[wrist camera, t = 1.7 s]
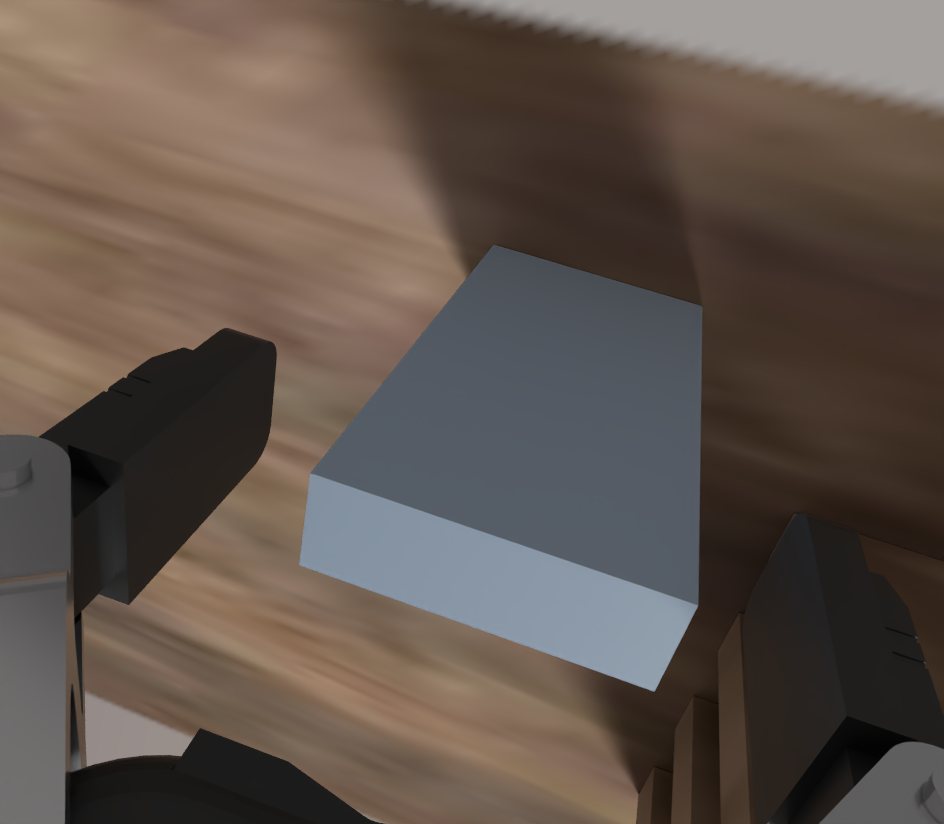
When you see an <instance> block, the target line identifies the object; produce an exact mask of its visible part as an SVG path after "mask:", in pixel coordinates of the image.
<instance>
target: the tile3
mask: <svg viewBox="0 0 944 824" xmlns="http://www.w3.org/2000/svg"><path fill="white" fill-rule="evenodd" d="M744 615H745V614H742V613H739V614H738V616H737V617H736V619H735V621H734V623H733V625H732V627H731V628H730V630H729V632H728V634H727V636H726V637H725V639H724V641H723V643H722V645H721V647H720V648H719V650H718V687H719V745H720V803H721V824H756V819H755V804H754V789H753V774H752V759H751V745H750V730H749V715H748V700H747V685H746V671H745V656H744V641H743V621H744Z"/></svg>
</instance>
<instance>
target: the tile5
mask: <svg viewBox="0 0 944 824" xmlns="http://www.w3.org/2000/svg"><path fill="white" fill-rule="evenodd" d="M672 791H673V773H670V772H667V771H665V770H662V769H659V768H656V767H654V768H653V770H652V771H651V773H650V775H649V777H648V779H647V781H646V782H645V784H644V786H643V788H642V790H641V791H640V793H639V796H638V808H637V820H636V824H671V814H672Z"/></svg>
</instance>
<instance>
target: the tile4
mask: <svg viewBox="0 0 944 824" xmlns="http://www.w3.org/2000/svg"><path fill="white" fill-rule="evenodd" d="M671 824H721V803H720V745H719V705H718V704H715V703H712V702H710V701H707V700H704V699H701V698H698V697H696V696H693V697H692V699H691V701H690V703H689V704H688V706H687V708H686V710H685V712H684V713H683V715H682V717H681V719H680V721H679V723H678V724H677V726H676V728H675V744H674V767H673V791H672V814H671Z"/></svg>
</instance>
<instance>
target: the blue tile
mask: <svg viewBox="0 0 944 824" xmlns="http://www.w3.org/2000/svg"><path fill="white" fill-rule="evenodd" d="M701 377H702V306H700V305H697V304H693V303H690V302H686V301H683V300H680V299H676V298H673V297H670V296H666V295H663V294H659V293H656V292H653V291H649V290H646V289H642V288H639V287H636V286H632V285H629V284H626V283H622V282H619V281H615V280H612V279H609V278H605V277H602V276H599V275H595V274H592V273H588V272H585V271H582V270H578V269H575V268H571V267H568V266H565V265H561V264H558V263H555V262H551V261H548V260H544V259H541V258H538V257H534V256H531V255H528V254H524V253H521V252H517V251H514V250H511V249H507V248H504V247H500V246H497V245H493V246H492V247H491V249H490V250H489V251H488V252H487V254H486V255H485V256H484V257H483V259H482V260H481V261H480V262H479V264H478V265H477V266H476V267H475V269H474V270H473V271H472V272H471V274H470V275H469V276H468V277H467V279H466V280H465V281H464V282H463V284H462V285H461V286H460V287H459V289H458V290H457V291H456V292H455V294H454V295H453V296H452V297H451V299H450V300H449V301H448V302H447V304H446V305H445V306H444V307H443V308H442V310H441V311H440V312H439V313H438V315H437V316H436V317H435V318H434V320H433V321H432V322H431V323H430V325H429V326H428V327H427V328H426V330H425V331H424V332H423V333H422V335H421V336H420V337H419V338H418V340H417V341H416V342H415V343H414V345H413V346H412V347H411V348H410V350H409V351H408V352H407V353H406V355H405V356H404V357H403V358H402V360H401V361H400V362H399V363H398V365H397V366H396V367H395V368H394V370H393V371H392V372H391V373H390V375H389V376H388V377H387V378H386V380H385V381H384V382H383V383H382V385H381V386H380V387H379V388H378V390H377V391H376V392H375V393H374V395H373V396H372V397H371V398H370V400H369V401H368V402H367V403H366V405H365V406H364V407H363V408H362V410H361V411H360V412H359V413H358V415H357V416H356V417H355V418H354V420H353V421H352V422H351V423H350V424H349V426H348V427H347V428H346V429H345V431H344V432H343V433H342V434H341V436H340V437H339V438H338V439H337V441H336V442H335V443H334V444H333V446H332V447H331V448H330V449H329V451H328V452H327V453H326V454H325V456H324V457H323V458H322V459H321V461H320V462H319V463H318V464H317V466H316V467H315V468H314V469H313V471H312V472H311V473H310V481H309V490H308V498H307V506H306V514H305V523H304V531H303V539H302V547H301V556H300V564H299V565H300V566H303V567H306V568H309V569H312V570H314V571H317V572H320V573H323V574H326V575H328V576H331V577H334V578H337V579H340V580H342V581H345V582H348V583H351V584H354V585H356V586H359V587H362V588H365V589H368V590H371V591H373V592H376V593H379V594H382V595H385V596H387V597H390V598H393V599H396V600H399V601H401V602H404V603H407V604H410V605H413V606H415V607H418V608H421V609H424V610H427V611H429V612H432V613H435V614H438V615H441V616H443V617H446V618H449V619H452V620H455V621H457V622H460V623H463V624H466V625H469V626H471V627H474V628H477V629H480V630H483V631H485V632H488V633H491V634H494V635H497V636H499V637H502V638H505V639H508V640H511V641H514V642H516V643H519V644H522V645H525V646H528V647H530V648H533V649H536V650H539V651H542V652H544V653H547V654H550V655H553V656H556V657H558V658H561V659H564V660H567V661H570V662H572V663H575V664H578V665H581V666H584V667H586V668H589V669H592V670H595V671H598V672H600V673H603V674H606V675H609V676H612V677H614V678H617V679H620V680H623V681H626V682H628V683H631V684H634V685H637V686H640V687H643V688H645V689H648V690H651V691H654V692H655V690H656V688H657V686H658V684H659V682H660V680H661V678H662V676H663V674H664V672H665V670H666V668H667V666H668V664H669V662H670V660H671V658H672V656H673V654H674V652H675V650H676V648H677V647H678V645H679V643H680V641H681V639H682V637H683V635H684V633H685V631H686V629H687V627H688V625H689V623H690V621H691V619H692V617H693V615H694V613H695V611H696V609H697V607H698V598H699V524H700V450H701Z"/></svg>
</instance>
